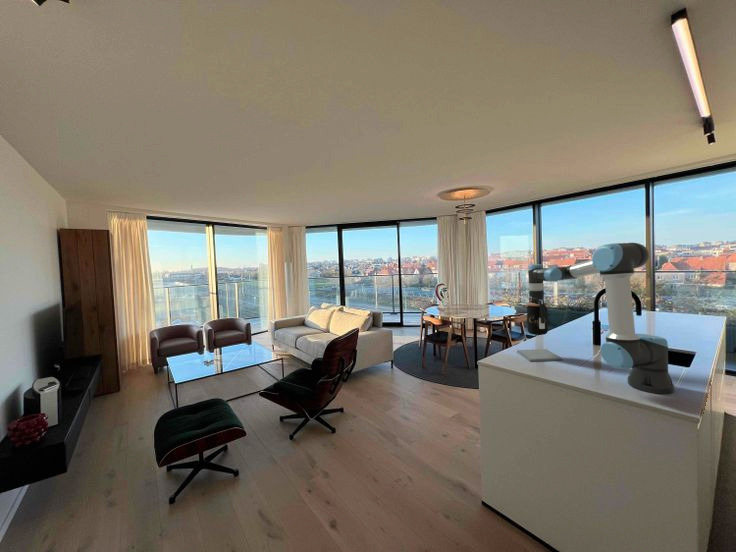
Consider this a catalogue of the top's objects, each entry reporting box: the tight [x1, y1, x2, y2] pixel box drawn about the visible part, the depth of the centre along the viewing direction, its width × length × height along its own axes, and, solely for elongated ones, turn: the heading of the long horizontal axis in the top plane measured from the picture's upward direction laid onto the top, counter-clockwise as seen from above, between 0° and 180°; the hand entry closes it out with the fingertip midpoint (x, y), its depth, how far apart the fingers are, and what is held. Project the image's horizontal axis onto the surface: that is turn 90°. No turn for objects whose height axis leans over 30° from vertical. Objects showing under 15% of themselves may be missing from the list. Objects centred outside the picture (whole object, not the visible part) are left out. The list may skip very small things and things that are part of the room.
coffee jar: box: [526, 301, 549, 336], centre depth 181 cm, size 11×11×18 cm
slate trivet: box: [516, 348, 563, 363], centre depth 182 cm, size 18×18×1 cm
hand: (537, 326), depth 181 cm, fingers closed on coffee jar, 11 cm apart
